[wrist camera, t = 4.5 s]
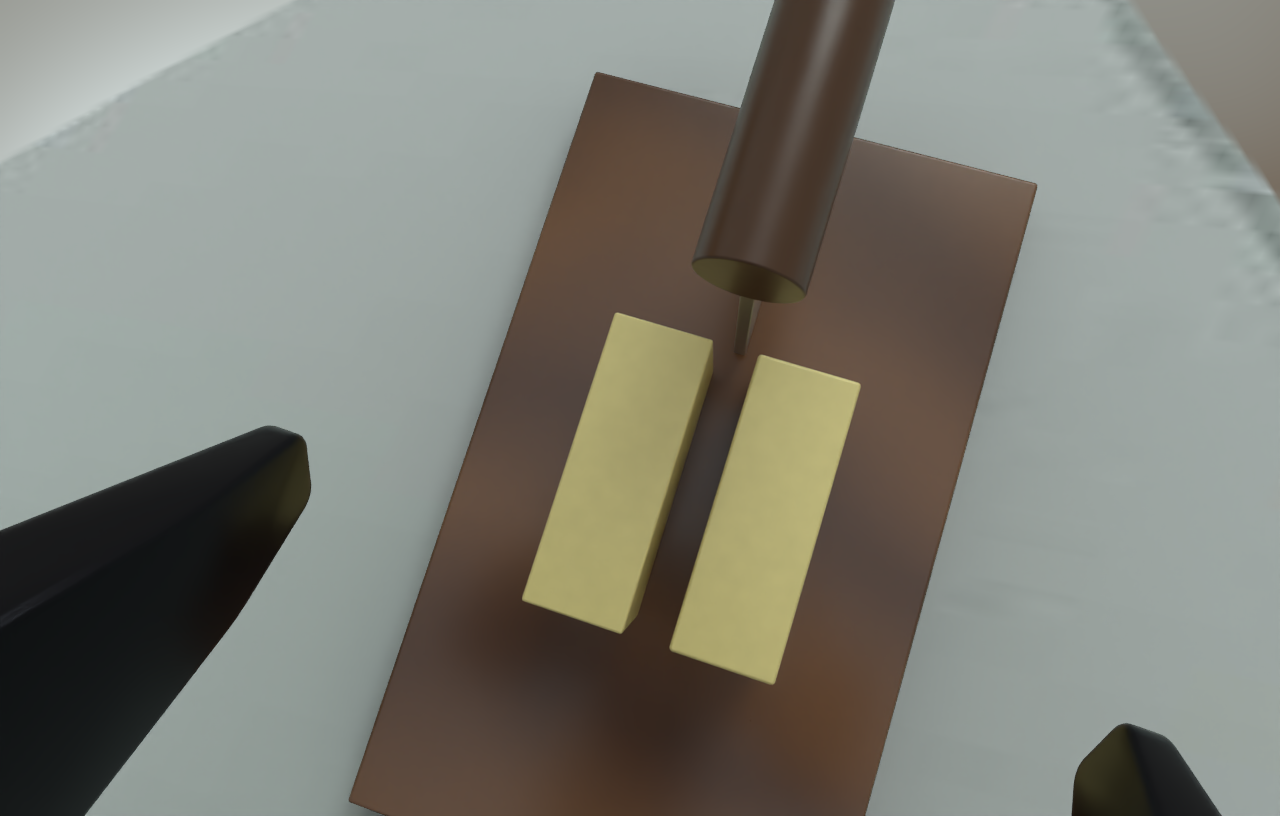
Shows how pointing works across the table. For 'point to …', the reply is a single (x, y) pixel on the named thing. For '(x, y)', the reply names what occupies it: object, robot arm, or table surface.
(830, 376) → the butter
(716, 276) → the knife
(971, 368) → the cutting board
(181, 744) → the table surface
